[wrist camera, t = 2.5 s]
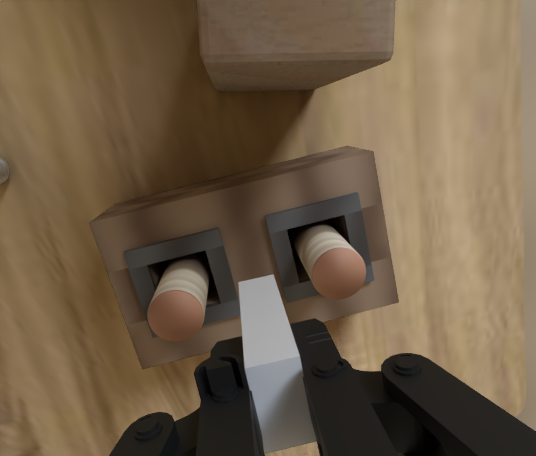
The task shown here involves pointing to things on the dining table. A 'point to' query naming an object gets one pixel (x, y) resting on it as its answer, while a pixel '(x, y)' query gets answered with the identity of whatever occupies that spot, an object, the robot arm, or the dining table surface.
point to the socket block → (246, 244)
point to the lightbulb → (4, 171)
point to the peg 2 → (329, 260)
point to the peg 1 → (180, 299)
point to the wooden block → (292, 41)
